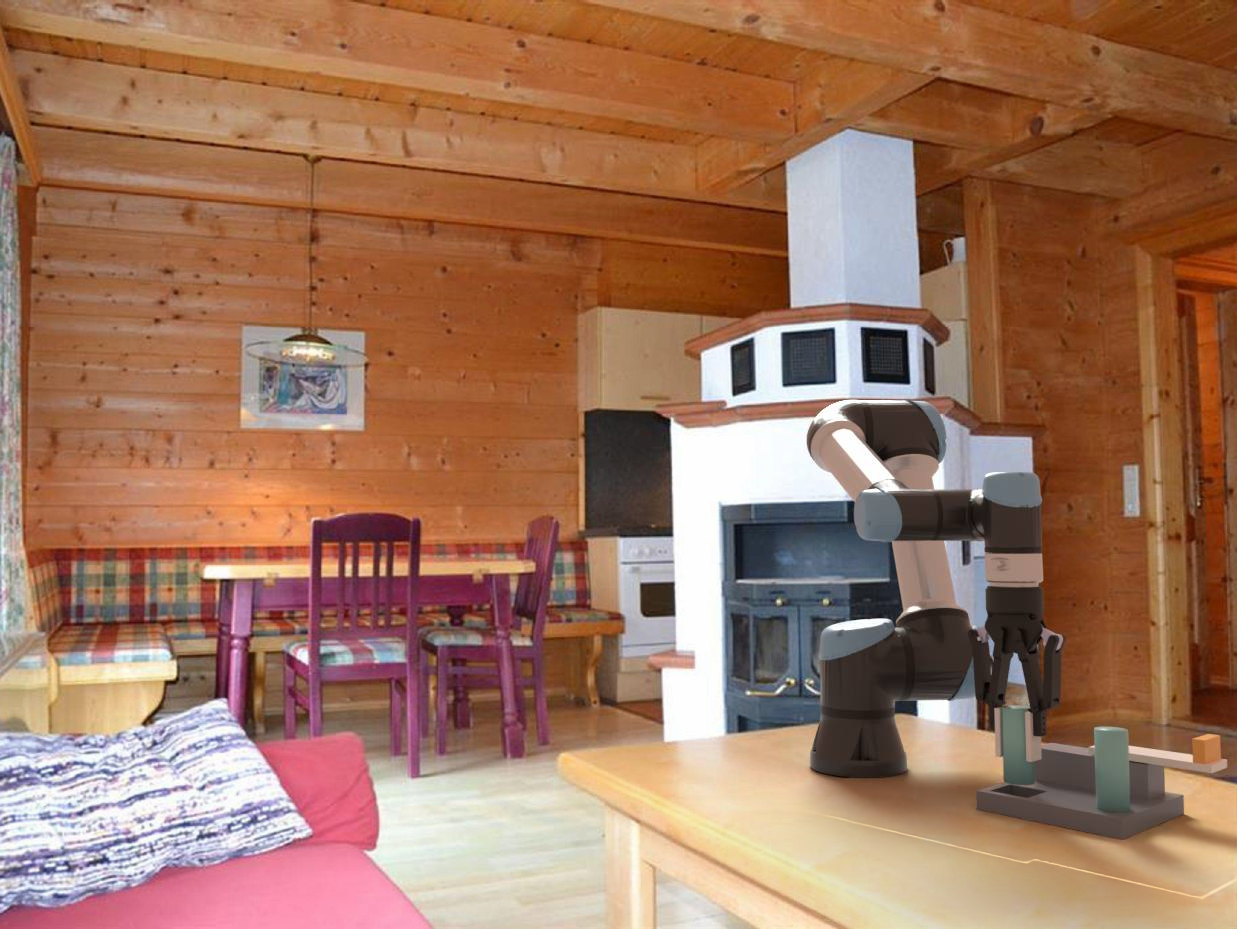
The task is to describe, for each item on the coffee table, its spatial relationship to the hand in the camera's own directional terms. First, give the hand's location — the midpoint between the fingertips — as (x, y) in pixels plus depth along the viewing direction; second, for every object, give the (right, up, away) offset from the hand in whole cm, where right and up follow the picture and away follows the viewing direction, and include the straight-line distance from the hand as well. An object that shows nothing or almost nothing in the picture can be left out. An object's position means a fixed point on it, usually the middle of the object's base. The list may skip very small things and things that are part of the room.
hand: (1018, 757), depth 155 cm
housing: (+8, -7, -1) cm, 10 cm away
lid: (+17, 0, -3) cm, 17 cm away
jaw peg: (0, -3, 0) cm, 3 cm away
